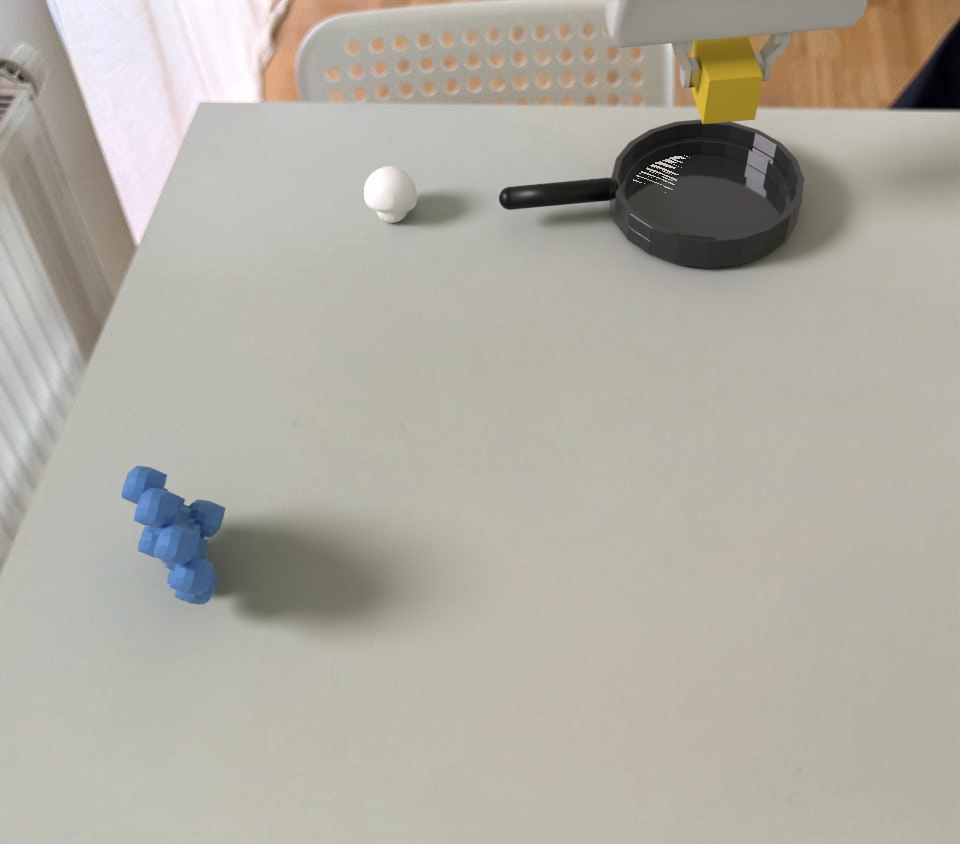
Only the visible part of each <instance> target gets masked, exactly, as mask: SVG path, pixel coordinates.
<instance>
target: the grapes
mask: <svg viewBox="0 0 960 844" xmlns="http://www.w3.org/2000/svg"><path fill="white" fill-rule="evenodd" d="M167 478H168V474H166V473H164V472H162V471H160V470H158V469H155V468H153V467H150V466H144V465H136V466H135V467H133V468H131V470H129V471H128V472H127V474H126V478H125V480H124V483H123V485H122V491H121V499H123V500H126V501H128V502H130V503H132V504H136V508H135V511H134V516H133V521H134V522H136V523H139V524H141V525H142V526H144V527H143V530H142V532H141V535H140V538H139V541H138V545H137V551H138V552H139V553H142V554H144V555H147V556H149V557H152V558H153V559H154V558H156V559H159V560H161V562H162V563H164V564H165V566H164V568H166V569H167V570H169V572H168V575H167V576H168V577H167V580H166V583H167V585H169V588H171V589H173V590H175V593H174V598H176V599H178V600H181V601H184V602H186V603H188V604H191V605H192V604H193V605H206V603H208V602H209V601H210V600H211V599H212V598H213V596H214V593H215V591H216V587H217V583H218V578H219V574H217V573H215V566H216V564H215V563H214V562H210V561H208V560H206V558H207V557H206V556H207V554H208V550H209V547H210V545H207V544H208V539H205V538H212V537H213V536H215V535H216V534H217V533H219V531H220V529H221V527H222V524H223V521H224V517H225V513H226V507H225V506H222V505H221V504H218V503H216V502H213V501H211V500H207V499H195V500H194V501H193V502H192V503H190V504H189V505H186V504H185V501H186V498H184V497H181V496H180V495H178V494H176V493H173V492H171V491H169V489H168V488H166V487H165V486H166V482H167Z"/></svg>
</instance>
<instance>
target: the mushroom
mask: <svg viewBox="0 0 960 844" xmlns="http://www.w3.org/2000/svg"><path fill="white" fill-rule="evenodd" d="M363 199H364V203H365V205H366V206H367V207H369V209H370V210H373V211H375V212H376V214H377V216H378V218H379V219H380V220H382V221H383V222H385V223H391V224H394V223H398V222H401V221H403V220H404V219H405V218H406V217H407V214H408V213H409V212H410V211H412V210H413V209H414V208H415V207H416V205H417V202H418V190H417V186H416V183H415V182H414V179H413V178H412V176H411V175H410V174H409V173H407V171H405V169H401V168H400V167H397V166H392V165H388V166H382V167H379V168H378V169H375V170H374V171H373V172H371V174H370V175H369V176H368V178H367V179H366V180H365V183H364V187H363Z"/></svg>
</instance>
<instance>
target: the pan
mask: <svg viewBox="0 0 960 844" xmlns="http://www.w3.org/2000/svg"><path fill="white" fill-rule="evenodd" d="M684 155H685V156H684ZM674 156H682V157H684V158H686V159H681V158H680V159H676V160H678V161H681V162H683V163H680V162H677V161H674V160H672V159H670V160H672V161H674V162H677V163H672V164H671V163H668V162H665V161H662V160H665V159H669V158H670V157H674ZM686 156H688V157H686ZM689 157H690V158H689ZM659 161H661V162H663V163H666V164H668V165H671V166H673V167H676V168H675V169H673V168H669V167H665V166H663V165H659V164H655V162H659ZM652 164H654V165H657V166H660V167H662V168H665V169H667V170H669V171H672V172H674V173H676V174H679V175H674V174H672V173H670V174H668V173H669V172H668V173H665V172H667V171H665V172H663V171H664V170H663V171H662V169H659V168H658V169H657V168H656V167H655V168H654V167H651V166H650V165H652ZM673 164H675V165H673ZM676 165H677V166H676ZM678 166H679V167H678ZM647 167H648V168H650V169H653V170H656V171H658V172H661V173H663V174H665V175H668V176H670V177H673V178H675V179H677V181H675V180H673V179H671V178H669V177H666V176H664V175H662V174H659V173H656V172H654V173H652V172H653V171H651V172H649V171H650V170H647V169H646V168H647ZM681 167H682V168H681ZM641 171H643V172H646V173H649V174H651V175H654V176H656V177H659V178H661V179H664V180H666V181H668V182H671V183H673V184H675V185H672V184H670V183H668V182H665V181H663V180H661V179H658V178H656V177H653V176H650V175H647V174H644V173H641ZM639 173H641V174H639ZM655 173H656V174H655ZM658 174H659V175H658ZM671 174H672V175H671ZM636 175H639V176H641V177H644V178H647V179H649V180H652V181H654V182H657V183H659V184H657V183H654V182H652V181H649V180H647V179H644V178H641V177H637V176H636ZM648 176H649V177H648ZM662 176H664V177H666V178H668V179H671V180H673V181H671V180H668V179H665V178H663V177H662ZM651 177H652V178H651ZM610 178H612V179H614V180H616V182H617V183H618V186H619V188H618V190H617V191H615V197H614V199H612V200H609V206H610V210H611V214H612V218H613V219H612V220H613V222H614V224H615V225H616V227H617V228H618V229H619V231H620V232H621V234H623V236H624V237H625V238H626V239H627V241H629V242H630V243H631V244H633V245H635V246H636V247H637V248H639V249H641V250H642V251H643V252H644V253H646V254H647V255H650V256H652V257H655V258H657V259H661V260H664V261H666V262H669V263H673V264H675V265H679V266H689V267H696V268H704V269H707V268H708V269H711V268H721V267H732V266H739V265H743V264H745V263H748V262H750V261H751V262H752V261H754V260H757V259H759V258H762V257H763V258H764V257H765V256H767V254H769V253H771V252H772V251H774V250H775V249H776V248H778V247H779V246H781V245H782V244H783V243H784V242H785V241H786V240H787V239H788V237H789V235H790V234H791V232H792V231H793V229H794V228H795V226H796V224H797V222H798V217H799V213H800V208H801V205H802V201H803V197H804V196H803V195H804V186H805V175H804V174H803V171H802V169H801V166H800V164H799V161H798V159H797V158H796V156H794V155H793V154H792V152H791V151H790V150H789V149H788V148H787V147H786V146H785V145H784V144H783V143H782V142H780V141H779V140H777V139H775V138H774V137H772V136H770V135H768V134H766V133H765V132H763V131H762V130H760V129H756V128H754V127H750V126H748V125H747V126H746V125H744V124H740V123H737V122H735V121H733V122H722V123H710V124H702V121H701V118H700V119H690V120H689V119H688V120H680V121H673V122H670V123H666V124H663V125H659V126H657V127H654V128H650V129H648V130H647V131H644V132H643V133H642V134H640V135H639V136H637V137H635V138H634V139H631V140H630V141H629V142H628V143H627V144H626V146H625V147H624V148H623V150H622V151H621V152H620V153H619V154H618V156H617V157H616V158H615V161H614V165H613V168H612V173H611V177H610ZM638 178H639V179H638ZM633 179H634V180H637V181H639V182H642V183H639V182H636V181H633ZM656 179H657V180H656ZM644 183H645V184H644ZM660 184H662V185H660ZM663 185H664V186H666V187H669V188H671V189H673V190H671V189H668V188H665V187H664V186H663ZM665 192H666V193H665Z"/></svg>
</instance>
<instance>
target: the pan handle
mask: <svg viewBox="0 0 960 844" xmlns="http://www.w3.org/2000/svg"><path fill="white" fill-rule="evenodd" d="M618 188H619V186H618V183H617V182H616V180H614V179H612V178H611V177H599V178H589V179H577V180H567V181H558V182H556V181H555V182H545V183H534V184H525V185H513V186H507V187H505V188H503V189H502V190H501V191H500V192H499V196H498V202H499V204H500V206H501V207H502V208H503V209H505V210H508V211H511V210H514V211H515V210H522V209H532V208H533V209H534V208H545V207H554V206H557V207H558V206H567V205H578V204H587V203H597V202H598V203H599V202H610V200H612V199H614V197H615V191H617V190H618Z"/></svg>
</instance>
